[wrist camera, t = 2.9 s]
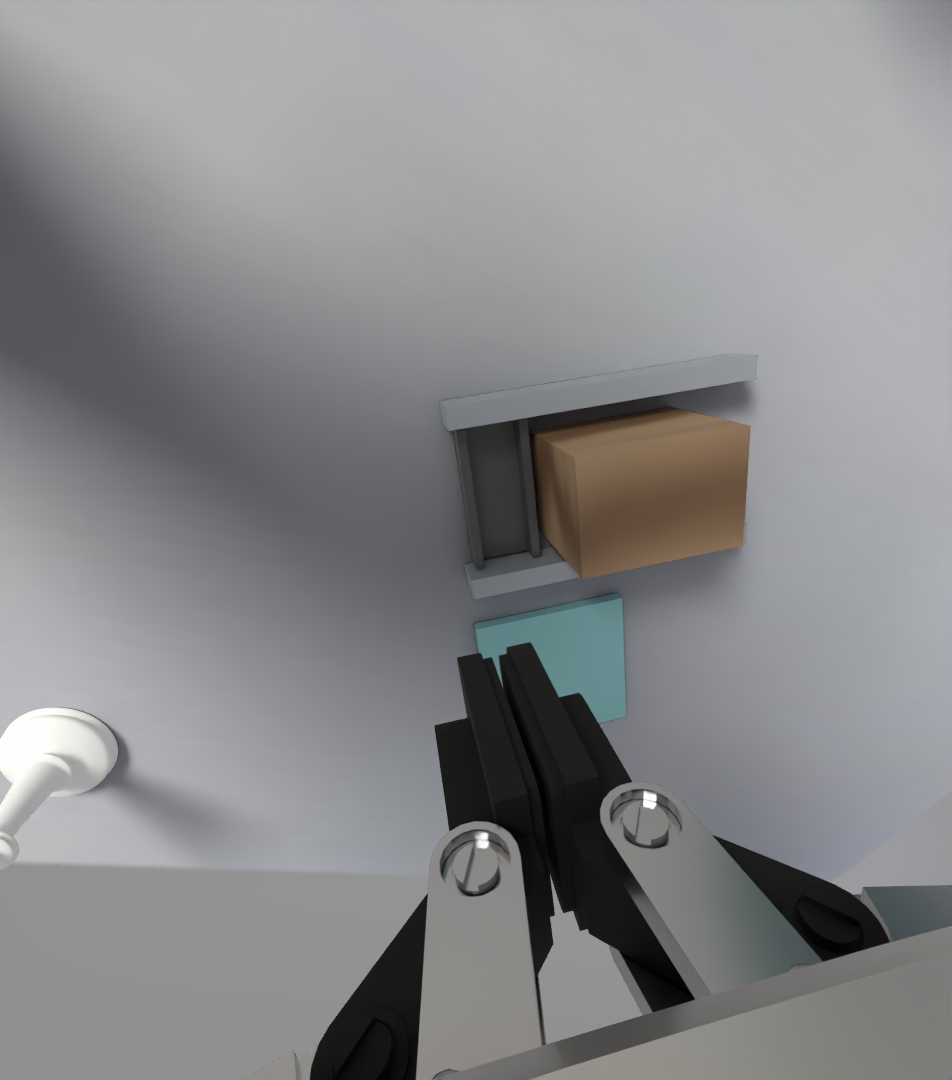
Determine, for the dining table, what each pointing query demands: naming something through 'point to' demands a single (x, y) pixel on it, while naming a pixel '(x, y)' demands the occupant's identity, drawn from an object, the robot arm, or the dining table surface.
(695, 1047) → the robot arm
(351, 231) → the dining table surface
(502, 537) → the grey twin-rail rack
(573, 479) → the walnut block
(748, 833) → the dining table surface
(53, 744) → the chess piece
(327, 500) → the dining table surface
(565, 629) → the pad
